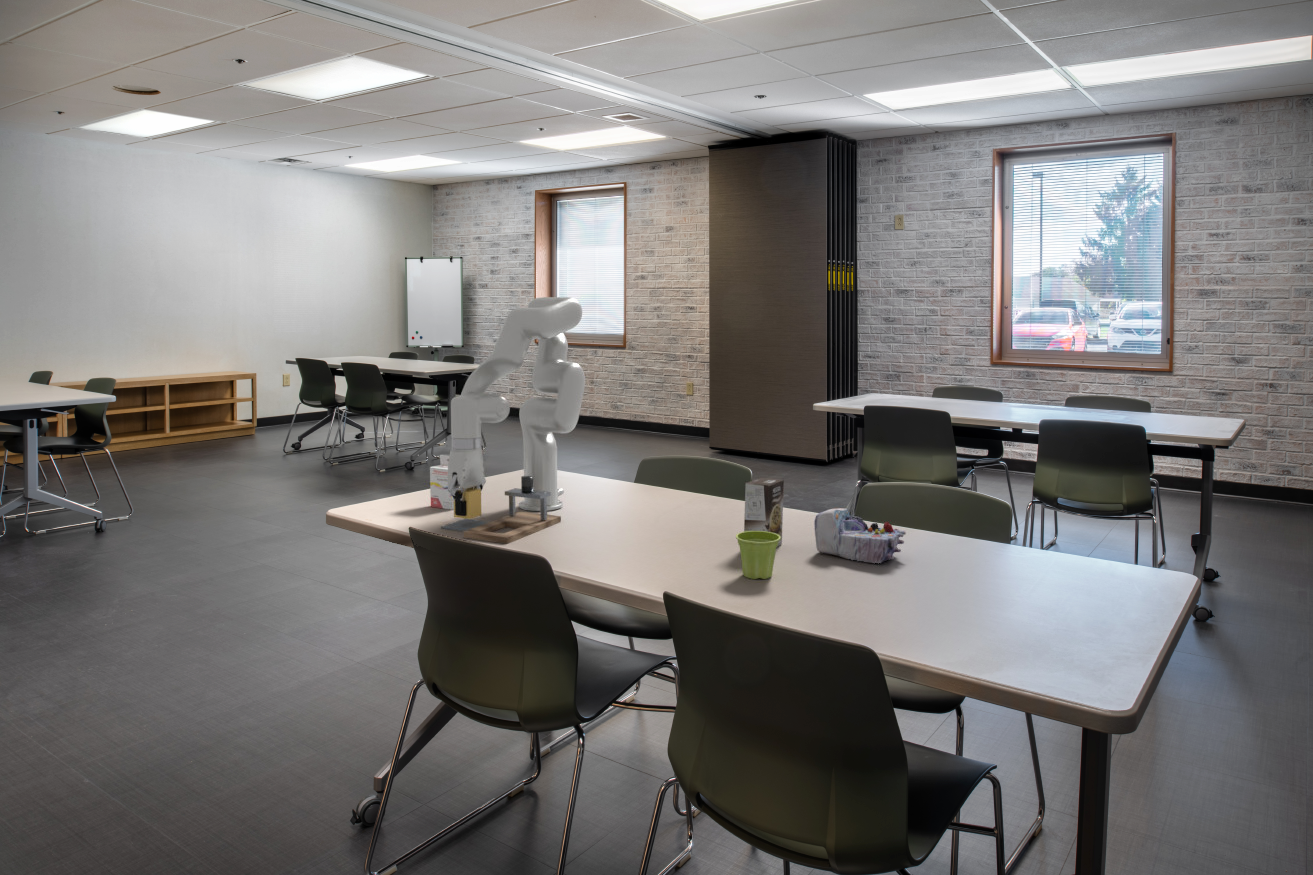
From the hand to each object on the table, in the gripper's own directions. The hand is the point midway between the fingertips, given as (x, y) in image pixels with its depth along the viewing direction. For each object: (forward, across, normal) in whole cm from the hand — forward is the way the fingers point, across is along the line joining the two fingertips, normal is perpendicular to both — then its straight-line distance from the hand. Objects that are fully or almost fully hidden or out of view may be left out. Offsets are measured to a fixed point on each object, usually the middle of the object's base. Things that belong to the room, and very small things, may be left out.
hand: (467, 512), depth 223 cm
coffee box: (+4, -15, +76) cm, 77 cm away
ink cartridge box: (+4, -16, -20) cm, 26 cm away
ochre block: (+1, 0, 0) cm, 1 cm away
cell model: (+4, -17, +98) cm, 99 cm away
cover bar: (+2, -9, +12) cm, 16 cm away
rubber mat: (+4, 0, 0) cm, 4 cm away
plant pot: (+4, +8, +82) cm, 82 cm away
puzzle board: (+4, -3, +12) cm, 13 cm away
